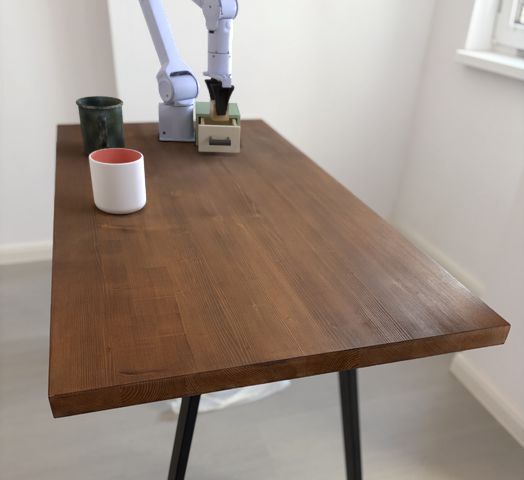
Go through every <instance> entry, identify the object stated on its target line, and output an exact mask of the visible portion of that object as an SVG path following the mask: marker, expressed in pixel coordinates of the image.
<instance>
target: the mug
mask: <svg viewBox="0 0 524 480" xmlns="http://www.w3.org/2000/svg"><path fill="white" fill-rule="evenodd" d="M75 104H76V106H77V109H78V117H79V123H80V132H81V139H82V147H83V153H84V154H85V155H86V156H87V157H89V155H90V154H91V153H93V152H95V151H98V150H102V149H110V148H123V149H126V139H125V127H124V117H123V105H124V101H123V100H122V99H120V98H118V97H113V96H105V95H92V96H84V97H80V98H78V99H76V100H75Z"/></svg>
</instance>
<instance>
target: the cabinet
mask: <svg viewBox="0 0 524 480" xmlns="http://www.w3.org/2000/svg"><path fill="white" fill-rule="evenodd" d="M194 107H195V108H194V109H195V114H194V115H195V146H197V147H199V142H198V125H201V117H210V101H196V100H195V103H194ZM229 118H235V120H236V124H237V126H240V127H241V112H240V109H239V105H238V103H237V102H229Z"/></svg>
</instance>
